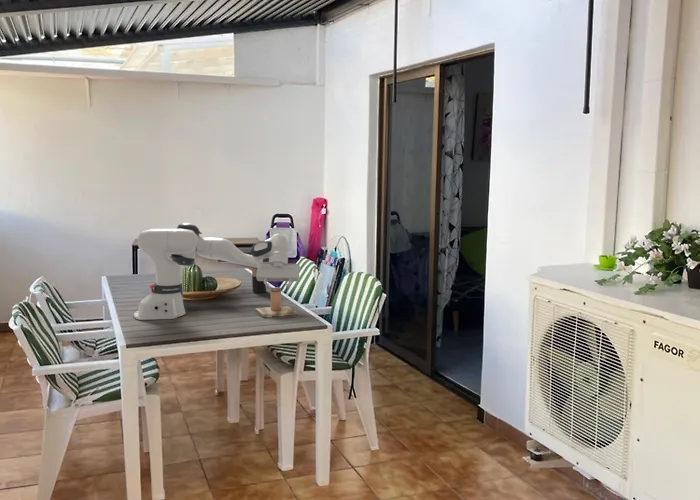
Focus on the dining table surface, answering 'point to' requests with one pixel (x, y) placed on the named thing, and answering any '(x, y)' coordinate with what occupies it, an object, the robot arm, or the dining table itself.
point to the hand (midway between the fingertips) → (277, 287)
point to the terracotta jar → (275, 299)
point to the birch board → (268, 313)
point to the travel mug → (257, 283)
